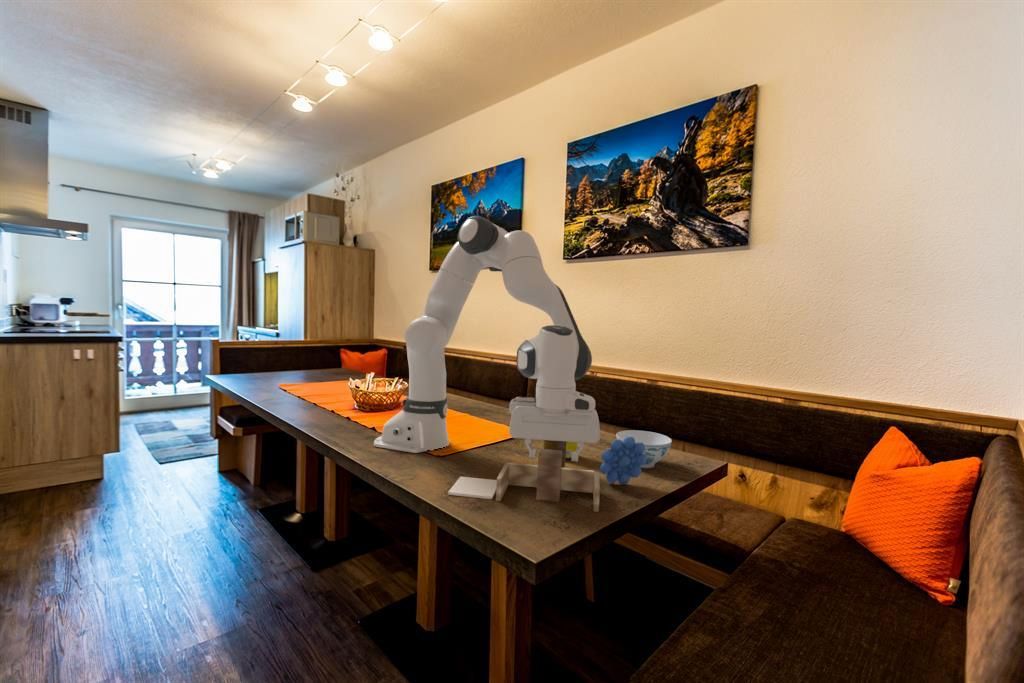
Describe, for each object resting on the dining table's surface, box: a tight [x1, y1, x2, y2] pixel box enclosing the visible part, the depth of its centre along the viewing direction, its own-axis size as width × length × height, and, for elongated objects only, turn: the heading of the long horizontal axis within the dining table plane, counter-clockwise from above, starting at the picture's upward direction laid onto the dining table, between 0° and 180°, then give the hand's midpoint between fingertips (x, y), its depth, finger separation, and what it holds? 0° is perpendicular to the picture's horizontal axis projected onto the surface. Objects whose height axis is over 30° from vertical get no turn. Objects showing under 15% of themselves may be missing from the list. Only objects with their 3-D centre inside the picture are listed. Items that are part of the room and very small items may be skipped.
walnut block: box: [535, 448, 562, 503], centre depth 102 cm, size 5×5×10 cm
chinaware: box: [615, 429, 673, 469], centre depth 127 cm, size 15×15×8 cm
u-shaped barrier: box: [495, 462, 601, 513], centre depth 102 cm, size 22×11×5 cm, turn 81°
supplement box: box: [565, 442, 580, 461], centre depth 131 cm, size 6×6×11 cm
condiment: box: [542, 440, 567, 468], centre depth 119 cm, size 7×8×12 cm
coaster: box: [447, 476, 497, 500], centre depth 105 cm, size 10×10×1 cm
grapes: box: [599, 437, 647, 485], centre depth 112 cm, size 12×7×12 cm, turn 92°
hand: (553, 459), depth 102 cm, fingers open, 8 cm apart
